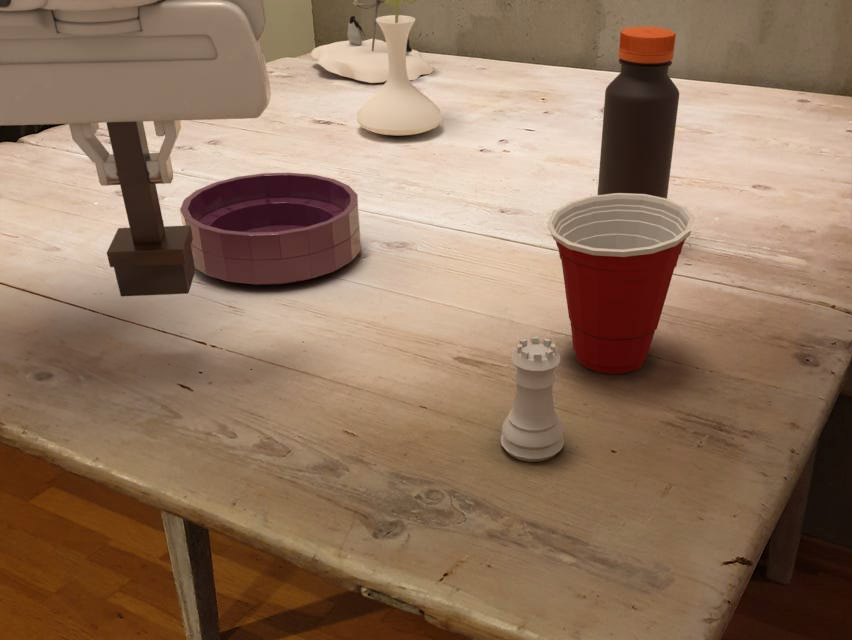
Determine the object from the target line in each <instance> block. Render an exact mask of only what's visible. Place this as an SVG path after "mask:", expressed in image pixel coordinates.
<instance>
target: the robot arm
mask: <svg viewBox="0 0 852 640" xmlns="http://www.w3.org/2000/svg"><path fill="white" fill-rule="evenodd" d="M266 22H267V20H266V10H265V2H264V0H0V126H28V125H29V126H31V125H35V126H36V125H63V124H65V125H67V124H68V125H69V126H68V127H69V130H70V135H71V139H72V141H73V142H74V143H75V144H76V145H77V146H78V147H79V149H80V150H81V151H82V152H83V153H84V154H85V156H86V157H87V158H88V159H89V160H90V161H91V162H92V163H94V165H95V169H96V173H97V178H98V182H99V184H100V186H101V187H103V186H104V187H105V186H108V187H109V186H120V182H119V177H118V173H117V168H116V164H115V159H114V155H113V153H111V154H110V152H109V151H108V150H107V149H106V147H105V146H104V144H103V143H102V142H101V141H100V140H99V138H98V137H97V136H96V133H97V132H98V130H99V129H100V125H99V124H100V123H101V124H102V123H103V124H104V123H106V122H142V121H143V122H153V126H154V130H155V135H156V136H157V137H164V139H163V141H162V144H161V146H160V148H159V152H149V155H148V158H147V159H146V161H145V163H146V168H147V172H148V173H149V175H148V179H149V182H150V184H156V185H167V184H172V182H173V179H174V169H173V164H172V157H171V153H172V151H173V149H174V147H175V144H176V142H177V139H178V137H179V134H180V131H181V129H182V124H181V123H182V122H181V121H207V120H210V121H211V120H241V119H243V120H244V119H258V118H259V117H261V116H262V115H263V113H264V112H265V111H266V110H267V108H268V107H269V105H270V101H271V95H272V93H271V82H270V77H269V73H268V72H269V71H268V66H267V63H266V57H265V54H264V49H263V46H262V41H261V38H262V36H263V34H264V33H265V30H266V25H267V23H266ZM106 124H107V123H106Z"/></svg>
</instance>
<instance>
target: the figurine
mask: <svg viewBox="0 0 852 640" xmlns="http://www.w3.org/2000/svg"><path fill="white" fill-rule="evenodd" d="M384 2H385V0H375V3H359V1H358V0H353V2H352V5H353V6H355V7H358V8H360V9H363V7H365V10H366V9H368V7H369V9H371V8H374V7H375V9H374V10H375V11H374V20H373V31H372V38H368V39H366V40H363V39H362V37H366V35H365V32H364V30H363V28H362V26H361V25H360V23H359V22H358V21H357V19H356V16H354V15H351V16H350V17H349V21H348V24H347V27H348V28H347V33H346V34H347V40H341V41H335V42H332V43H328V44H323V45H319V46H316V47H314V48H313V49H312V51H311V52H310V54H309V56H311V57H312V58H313V59H314V60H317V63H316V64H317V65H319V66H320V67H322V68H323V69H324V70H325V71H327V72H330V73H332V74H335V75H338V76H340V77H345V78H349V79H353V80H355V81H359V82H364V83H369V84H375V83H377V84H378V83H385V82H386V81H387V78H388V74H389V59H388V50H387V44H386V41H383V40H382V39H377V38H376V30H377V22H376V18H378V10H379V9H378V8H380V5H381V4H384ZM362 34H363V36H362ZM406 70H407V75H408V78H409V80H410V81H416V80H417V79H419V77H420V76H421V75H430V74H432V73H433V72H434V69H433V68H432V65H431V64H430V63H429V62H428V61H427V60H425V59H424V58H423V55H422V53H421V52H419V50H416V49H413V48H412V47H411V46H410V40H409V38H408V39H407V47H406Z"/></svg>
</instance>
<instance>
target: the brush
mask: <svg viewBox="0 0 852 640" xmlns="http://www.w3.org/2000/svg"><path fill="white" fill-rule="evenodd" d="M106 127H107V132H108V137H109V140H110V145H111V149H112V154H113V155H114V159H115V164H116V168H117V173H118V177H119V182H120V185H119V186H120V190H121V194H122V199H123V203H124V208H125V213H126V217H127V221H128V222H127V223H128V226H129V227H118V228H117V230H116V232H115V235H114V236H113V239H112V241H111V242H110V245H109V247H108V249H107V251H106V256H107V261H108V265H109V267H110V268H113V270H114V274H115V278H116V282H117V286H118V291H119V295H120V297H139V296H140V297H141V296H142V297H143V296H144V297H145V296H165V295H168V296H169V295H185V294H186V295H187V294H190V290H191V286H192V284H193V279H194V276H195V273H196V268H195V265H194V260H193V254H192V249H191V244H192V241H193V237H192V231H191V226H183V225H167V226H165V225H164V219H163V214H162V210H161V209H162V208H161V204H160V200H159V193H158V189H157V184H150V182H149V179H148V175H149V173H148V172H147V168H146V163H145V161H146V159H147V158H148V155H149V153H150V149H149V144H148V140H147V135H146V130H145V124H144V121H142V122H106Z"/></svg>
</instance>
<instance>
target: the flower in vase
mask: <svg viewBox="0 0 852 640" xmlns="http://www.w3.org/2000/svg"><path fill="white" fill-rule="evenodd" d="M384 1H385V2H384V3H383V4H384V5H385V6H386V5H387V6H389V7H390V6H391V7H394V8H395V14H390V15H389V14H388V15H382V16H377V18H376V24H377V25H378V26H379V27H380V29H381V32H382V33H383V36H384V40H385V42H386V44H387V50H388V59H389V74H388V78H387V80H386V81H385V82H384V84H383V85H382V86H381V87H380V89H378V91H376V92H375V93H374V94H373V95H372V96H371V97H370V98H368V99H367V100H366V101H365V102H364V103H363V104H362V106H361V107H360V108H359V109H358V112H357V115H356V118H355V119H356V121H357V123H358V124H359V126H360V127H361V128H362V129H364V130H367V131H369V132H371V133H374V134H379V135H385V136H412V135H419V134H422V133H426V132H429V131H431V130H434V129H435V128H437V127H438V126H440V124H441V122H442V121H443V118H444V117H443V113H442V111H441V109H440V107H438V105H436V104H435V102H434V101H432V99H430V98H429V97H428V96H426V94H424V93H423V92H422V91H421V90H419V89H418V88H417V87H416V86H415V85H413V83H412V81H411V80H409V78H408V75H407V70H406V47H407V39H409V34H410V31H411V29H412V27H413V25H414V24H415V22H416V17H414V16H410V15H403V14H402V15H401V14H399V10H400V6H401V5H402V4H403V3H404V1H405V0H384ZM406 1H407V2H408V3H409V4H414V3H416V1H417V0H406Z"/></svg>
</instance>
